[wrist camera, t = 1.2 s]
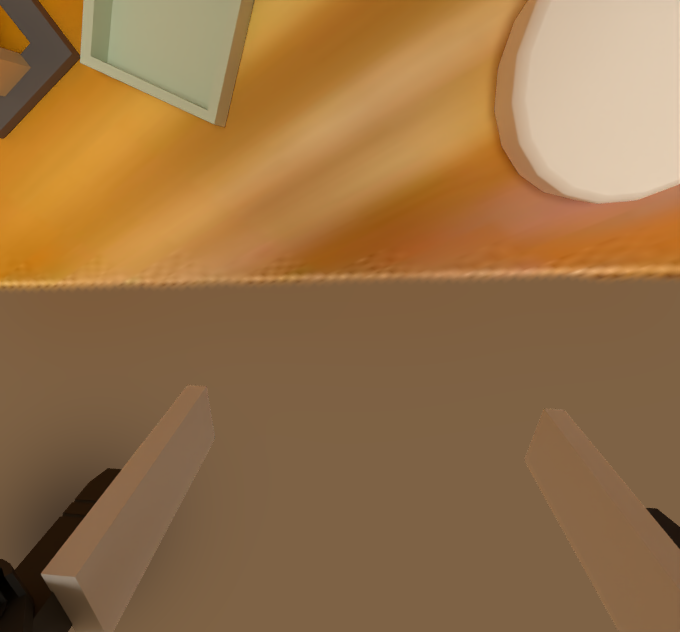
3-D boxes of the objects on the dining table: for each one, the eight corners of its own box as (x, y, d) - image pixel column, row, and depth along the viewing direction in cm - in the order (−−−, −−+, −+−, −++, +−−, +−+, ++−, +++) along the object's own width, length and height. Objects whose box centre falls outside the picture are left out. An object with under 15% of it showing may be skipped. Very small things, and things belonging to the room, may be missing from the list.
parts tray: (118, -140, 24) (93, -171, 22) (268, -59, 26) (259, -81, 23) (101, 70, 30) (80, 62, 27) (224, 127, 31) (214, 124, 29)
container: (536, 238, 34) (561, 248, 30) (455, 32, 27) (473, 9, 23) (767, 117, 29) (837, 109, 24) (736, -175, 22) (824, -255, 18)
